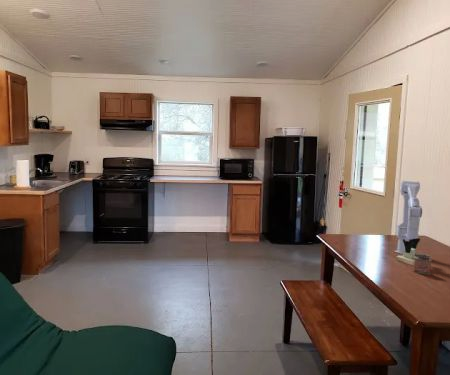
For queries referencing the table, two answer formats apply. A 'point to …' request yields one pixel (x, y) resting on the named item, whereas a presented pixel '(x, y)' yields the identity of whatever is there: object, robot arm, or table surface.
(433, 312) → the table surface
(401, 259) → the maple block
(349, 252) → the table surface
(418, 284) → the table surface
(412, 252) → the sage block
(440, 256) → the table surface
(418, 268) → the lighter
